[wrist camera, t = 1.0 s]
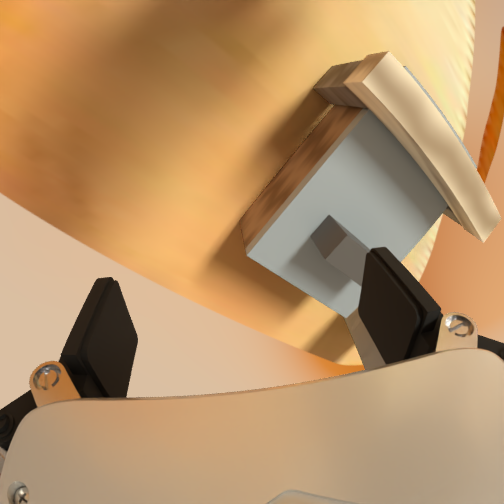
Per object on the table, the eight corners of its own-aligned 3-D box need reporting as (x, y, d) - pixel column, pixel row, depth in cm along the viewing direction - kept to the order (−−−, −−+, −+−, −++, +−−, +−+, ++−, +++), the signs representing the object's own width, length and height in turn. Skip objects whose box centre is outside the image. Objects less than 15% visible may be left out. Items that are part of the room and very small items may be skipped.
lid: (393, 67, 26) (435, 65, 20) (464, 162, 32) (504, 179, 26) (244, 244, 34) (252, 282, 28) (340, 306, 40) (360, 344, 34)
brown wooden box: (346, 50, 31) (387, 40, 22) (445, 165, 40) (491, 187, 31) (217, 205, 39) (218, 242, 30) (339, 289, 48) (364, 333, 39)
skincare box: (394, 298, 50) (439, 361, 37) (370, 328, 53) (407, 393, 39) (361, 284, 48) (406, 352, 34) (336, 317, 51) (371, 389, 37)
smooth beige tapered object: (367, 55, 23) (389, 51, 19) (481, 206, 32) (501, 218, 28) (342, 82, 24) (362, 82, 21) (464, 228, 33) (483, 242, 29)
